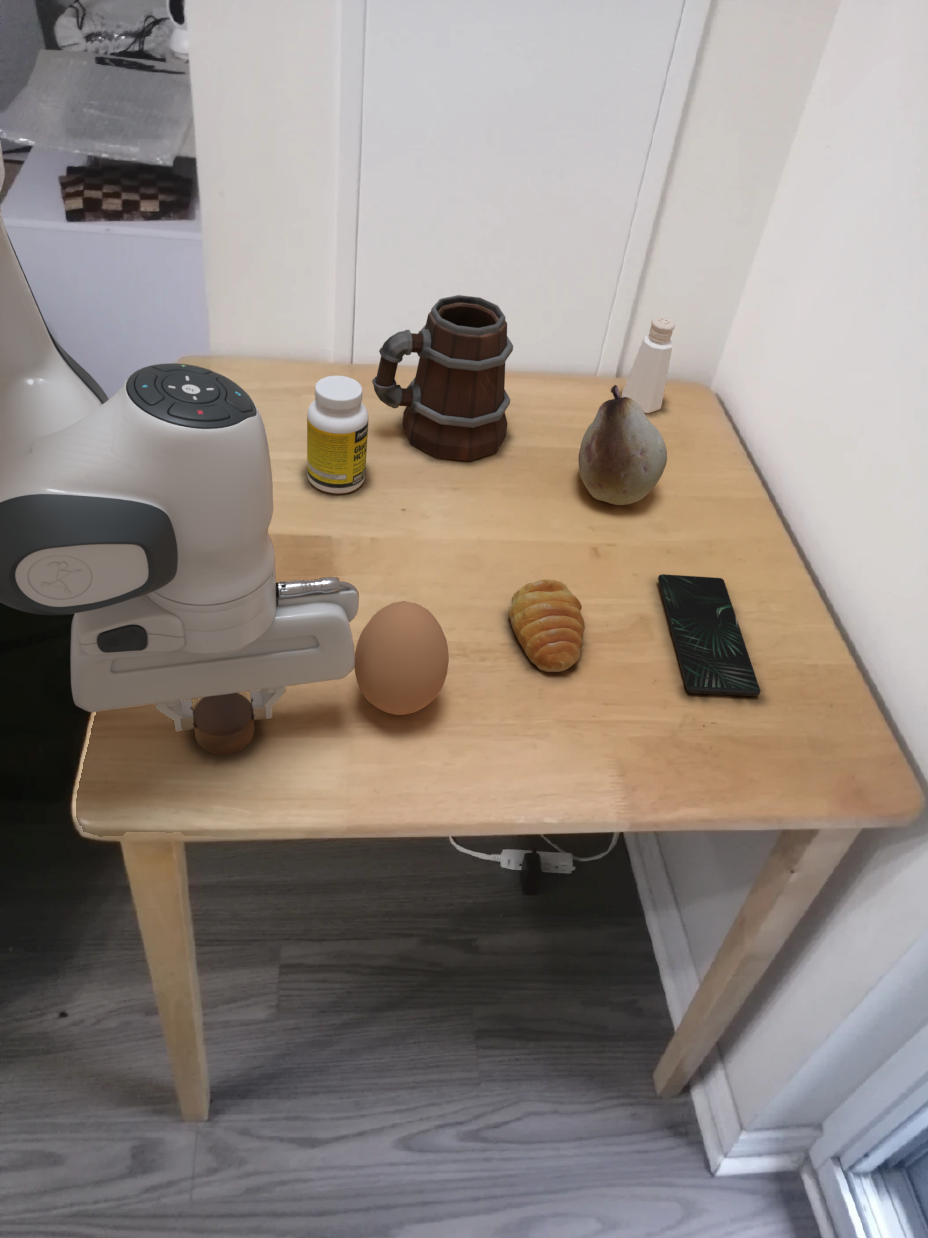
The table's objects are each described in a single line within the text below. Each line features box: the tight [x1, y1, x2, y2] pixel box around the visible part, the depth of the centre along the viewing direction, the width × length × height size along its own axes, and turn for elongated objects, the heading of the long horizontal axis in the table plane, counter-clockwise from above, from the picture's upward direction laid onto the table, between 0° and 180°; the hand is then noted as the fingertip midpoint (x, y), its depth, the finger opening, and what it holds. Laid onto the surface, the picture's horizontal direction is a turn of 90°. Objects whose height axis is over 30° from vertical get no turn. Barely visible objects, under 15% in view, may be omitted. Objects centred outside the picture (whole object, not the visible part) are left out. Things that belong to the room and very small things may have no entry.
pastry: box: [508, 579, 586, 673], centre depth 85 cm, size 9×7×4 cm
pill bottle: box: [306, 375, 369, 494], centre depth 96 cm, size 6×6×11 cm
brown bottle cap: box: [193, 692, 255, 756], centre depth 74 cm, size 5×5×2 cm
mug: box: [371, 294, 514, 462], centre depth 103 cm, size 16×12×15 cm
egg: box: [354, 600, 450, 716], centre depth 76 cm, size 8×8×11 cm
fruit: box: [578, 384, 668, 506], centre depth 100 cm, size 10×9×12 cm
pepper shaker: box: [621, 316, 676, 414], centre depth 115 cm, size 5×5×11 cm
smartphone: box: [657, 573, 761, 697], centre depth 89 cm, size 7×1×15 cm
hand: (223, 718), depth 74 cm, fingers closed on brown bottle cap, 4 cm apart
